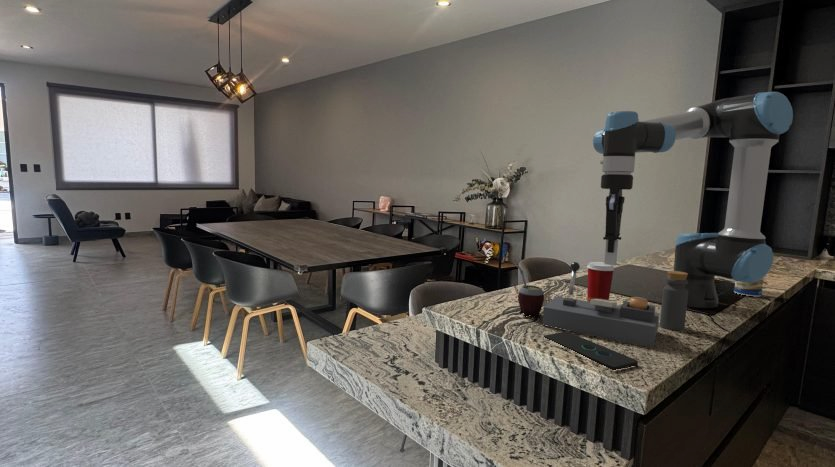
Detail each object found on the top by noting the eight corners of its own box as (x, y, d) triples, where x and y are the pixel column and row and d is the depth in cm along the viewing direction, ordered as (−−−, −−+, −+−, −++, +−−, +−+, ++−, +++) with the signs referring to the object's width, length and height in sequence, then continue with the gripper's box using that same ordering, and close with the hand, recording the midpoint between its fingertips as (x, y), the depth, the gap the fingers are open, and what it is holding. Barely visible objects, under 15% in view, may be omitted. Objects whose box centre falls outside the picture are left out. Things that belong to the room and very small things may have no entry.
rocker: (596, 303, 124) (597, 297, 124) (616, 306, 122) (617, 301, 122) (590, 303, 116) (590, 298, 116) (611, 307, 113) (611, 301, 113)
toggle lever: (567, 294, 125) (572, 262, 127) (576, 295, 124) (581, 263, 125) (565, 293, 123) (570, 260, 125) (574, 294, 122) (579, 261, 123)
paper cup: (611, 308, 140) (615, 263, 138) (610, 315, 133) (614, 267, 131) (584, 304, 143) (587, 260, 141) (581, 310, 136) (585, 264, 134)
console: (556, 313, 132) (558, 287, 131) (657, 331, 119) (660, 303, 118) (542, 325, 120) (544, 297, 120) (653, 347, 107) (656, 316, 106)
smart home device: (613, 366, 92) (542, 335, 109) (612, 375, 92) (541, 342, 109) (640, 360, 96) (567, 330, 113) (639, 368, 96) (566, 337, 113)
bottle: (687, 331, 120) (693, 275, 118) (663, 329, 121) (669, 273, 119) (679, 324, 126) (685, 271, 124) (656, 322, 127) (662, 269, 125)
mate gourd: (547, 315, 130) (550, 263, 128) (533, 321, 124) (536, 266, 122) (523, 309, 135) (527, 259, 133) (509, 315, 129) (512, 262, 127)
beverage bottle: (760, 294, 167) (767, 239, 165) (763, 299, 160) (770, 242, 158) (732, 290, 172) (739, 237, 169) (733, 294, 164) (740, 239, 162)
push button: (630, 305, 117) (631, 296, 117) (647, 308, 115) (648, 298, 115) (628, 308, 114) (629, 299, 114) (646, 311, 112) (647, 302, 112)
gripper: (606, 173, 125) (599, 259, 128) (597, 173, 114) (590, 266, 117) (636, 174, 121) (628, 262, 124) (630, 173, 110) (622, 270, 113)
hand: (610, 264), depth 121 cm, fingers closed
